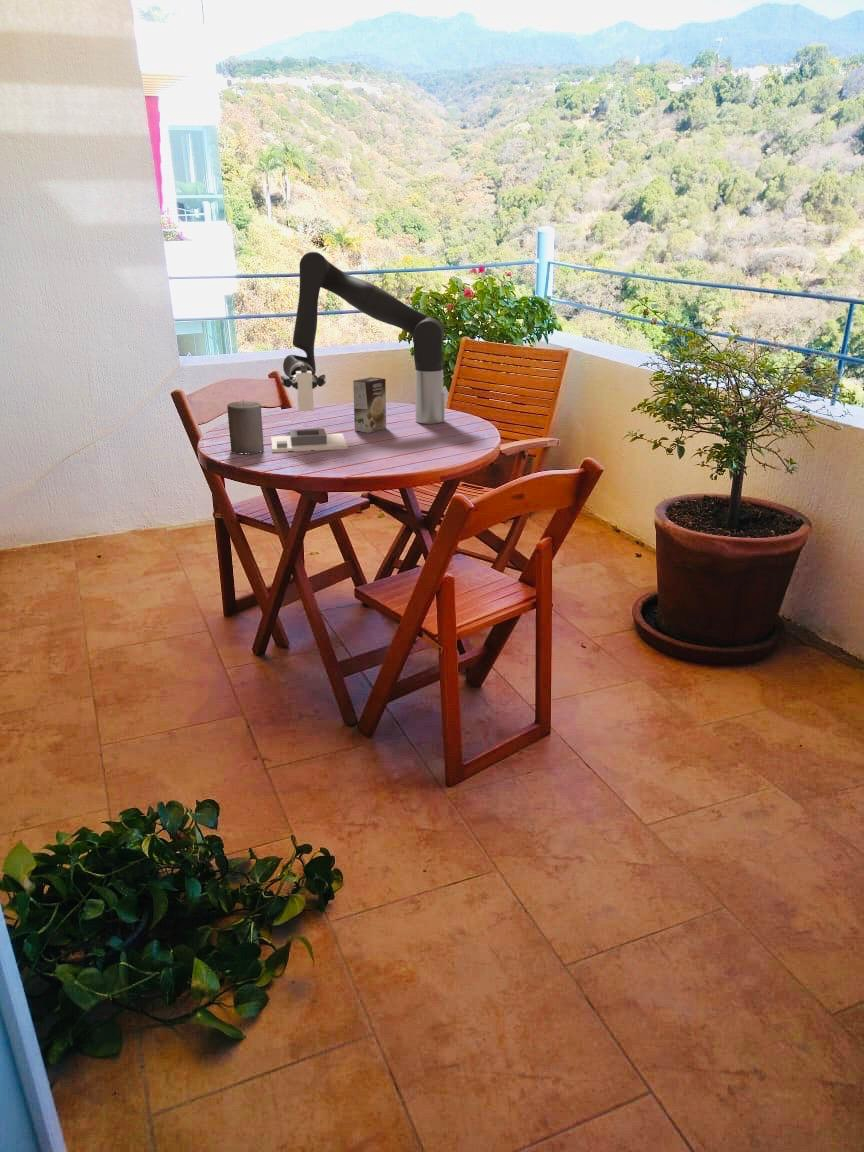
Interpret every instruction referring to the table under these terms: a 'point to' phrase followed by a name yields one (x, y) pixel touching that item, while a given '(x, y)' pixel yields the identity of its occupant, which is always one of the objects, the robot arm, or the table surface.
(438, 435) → the table surface
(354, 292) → the robot arm
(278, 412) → the table surface
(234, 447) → the pillar candle
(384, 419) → the coffee box
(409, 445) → the table surface
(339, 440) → the socket dock
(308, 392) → the plug
